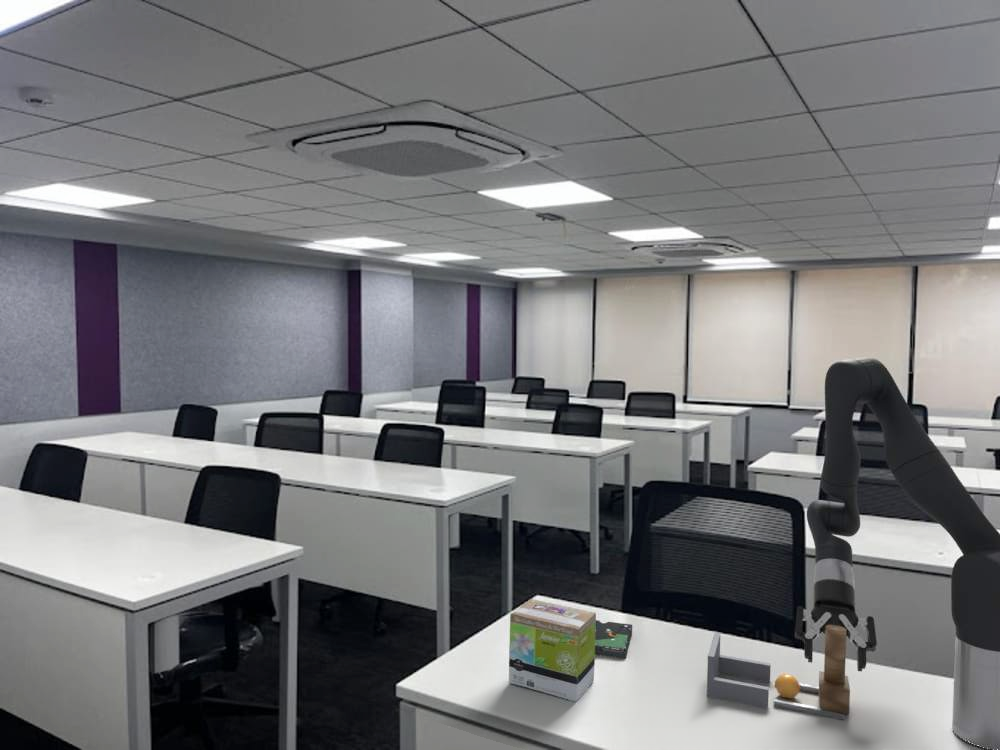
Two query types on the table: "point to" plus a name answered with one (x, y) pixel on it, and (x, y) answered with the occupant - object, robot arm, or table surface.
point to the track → (806, 707)
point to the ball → (787, 686)
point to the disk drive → (612, 639)
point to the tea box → (552, 649)
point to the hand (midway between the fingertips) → (835, 665)
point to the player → (834, 672)
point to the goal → (740, 669)
